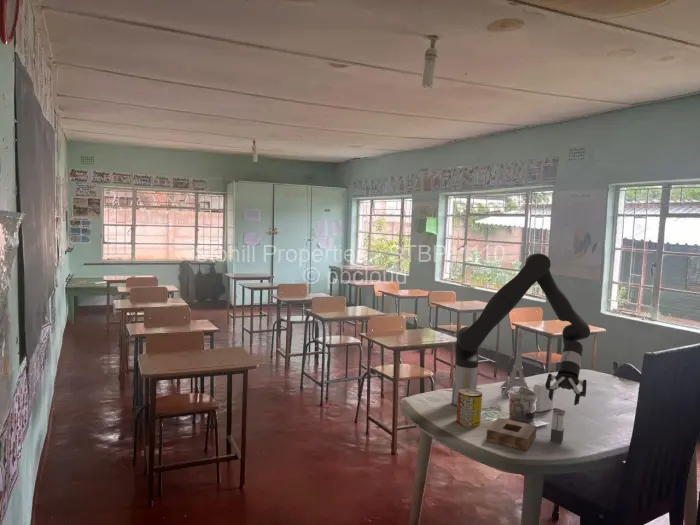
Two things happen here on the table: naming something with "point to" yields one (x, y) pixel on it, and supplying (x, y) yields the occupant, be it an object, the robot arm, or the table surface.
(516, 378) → the eiffel tower
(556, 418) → the white grey tall block
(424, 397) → the table surface
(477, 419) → the yellow tin can
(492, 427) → the stand
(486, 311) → the robot arm
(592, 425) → the table surface
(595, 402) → the table surface
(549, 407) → the white rounded slab
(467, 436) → the table surface
